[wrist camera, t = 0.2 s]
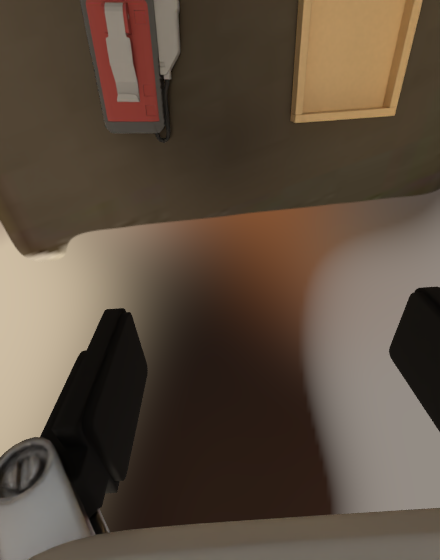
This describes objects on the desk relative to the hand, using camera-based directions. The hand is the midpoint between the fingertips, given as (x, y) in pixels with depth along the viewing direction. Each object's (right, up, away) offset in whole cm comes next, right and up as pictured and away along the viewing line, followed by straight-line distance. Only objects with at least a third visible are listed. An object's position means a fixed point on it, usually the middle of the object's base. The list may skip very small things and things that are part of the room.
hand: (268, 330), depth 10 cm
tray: (+12, +28, +19) cm, 36 cm away
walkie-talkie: (-10, +27, +19) cm, 34 cm away
